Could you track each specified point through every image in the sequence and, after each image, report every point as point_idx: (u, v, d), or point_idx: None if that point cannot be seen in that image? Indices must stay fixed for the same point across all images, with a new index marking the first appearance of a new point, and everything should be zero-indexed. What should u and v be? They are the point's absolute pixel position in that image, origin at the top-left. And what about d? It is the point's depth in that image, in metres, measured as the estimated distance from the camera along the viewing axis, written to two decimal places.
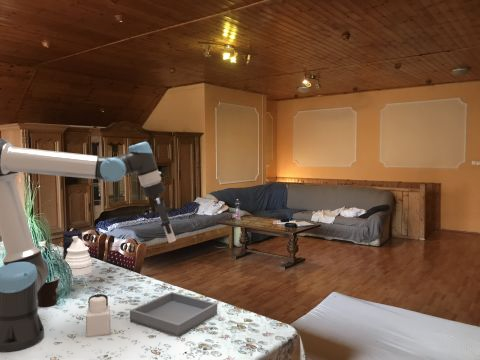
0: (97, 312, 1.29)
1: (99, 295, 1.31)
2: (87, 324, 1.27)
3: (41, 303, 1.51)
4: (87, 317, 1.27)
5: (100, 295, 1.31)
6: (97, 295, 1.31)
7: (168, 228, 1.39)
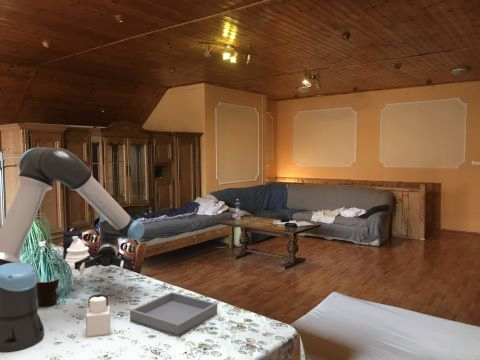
0: (97, 312, 1.29)
1: (99, 295, 1.31)
2: (87, 324, 1.27)
3: (41, 303, 1.51)
4: (87, 317, 1.27)
5: (100, 295, 1.31)
6: (97, 295, 1.31)
7: (126, 265, 1.47)
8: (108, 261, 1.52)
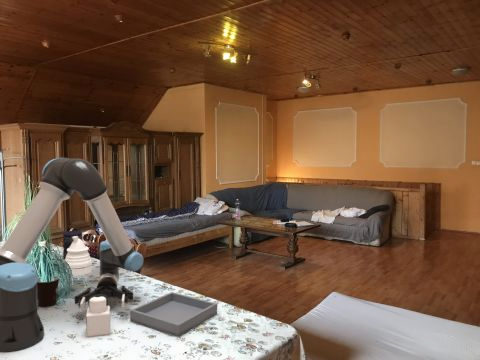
0: (97, 312, 1.29)
1: (99, 295, 1.31)
2: (87, 324, 1.27)
3: (41, 303, 1.51)
4: (87, 317, 1.27)
5: (100, 295, 1.31)
6: (97, 295, 1.31)
7: None
8: (109, 293, 1.49)
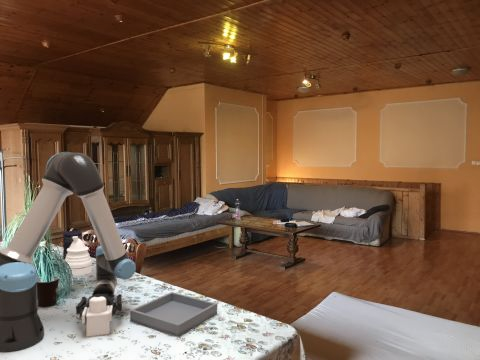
0: (97, 312, 1.29)
1: (99, 295, 1.31)
2: (86, 324, 1.27)
3: (41, 303, 1.51)
4: (87, 317, 1.27)
5: (100, 295, 1.31)
6: (97, 295, 1.31)
7: (116, 310, 1.33)
8: None
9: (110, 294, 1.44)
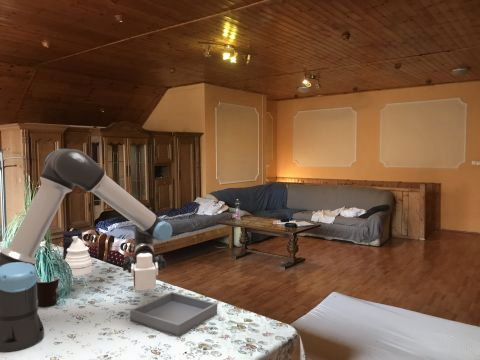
0: (144, 267, 1.35)
1: (145, 252, 1.38)
2: (135, 278, 1.34)
3: (41, 303, 1.51)
4: (135, 271, 1.34)
5: (146, 252, 1.38)
6: (143, 252, 1.38)
7: None
8: None
9: None
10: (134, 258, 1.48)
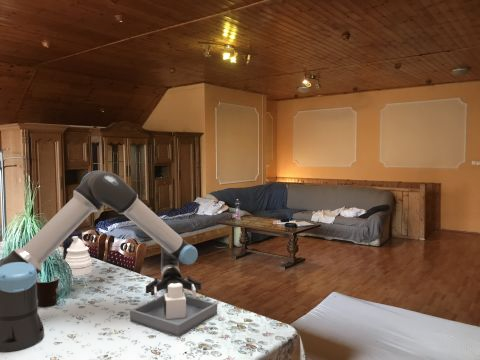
0: (175, 297, 1.40)
1: (175, 282, 1.43)
2: (166, 307, 1.39)
3: (41, 303, 1.51)
4: (166, 301, 1.39)
5: (176, 282, 1.43)
6: (174, 282, 1.43)
7: None
8: None
9: None
10: None
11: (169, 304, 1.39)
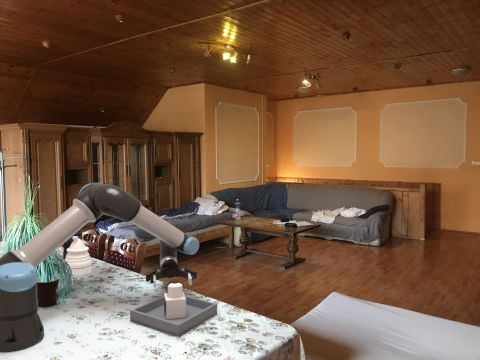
0: (175, 297, 1.40)
1: (175, 282, 1.43)
2: (166, 307, 1.39)
3: (41, 303, 1.51)
4: (166, 301, 1.39)
5: (176, 282, 1.43)
6: (174, 282, 1.43)
7: None
8: (174, 273, 1.64)
9: (176, 267, 1.68)
10: None
11: (169, 304, 1.39)
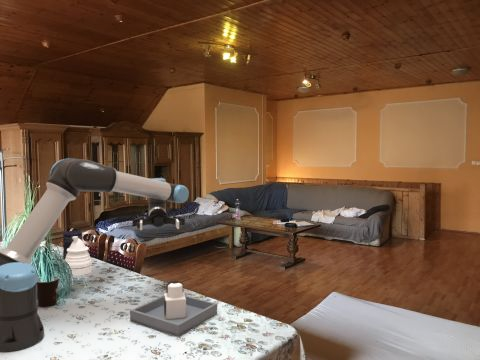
0: (175, 297, 1.40)
1: (175, 282, 1.43)
2: (166, 307, 1.39)
3: (41, 303, 1.51)
4: (166, 301, 1.39)
5: (176, 282, 1.43)
6: (174, 282, 1.43)
7: None
8: (161, 220, 1.60)
9: None
10: None
11: (169, 304, 1.39)
